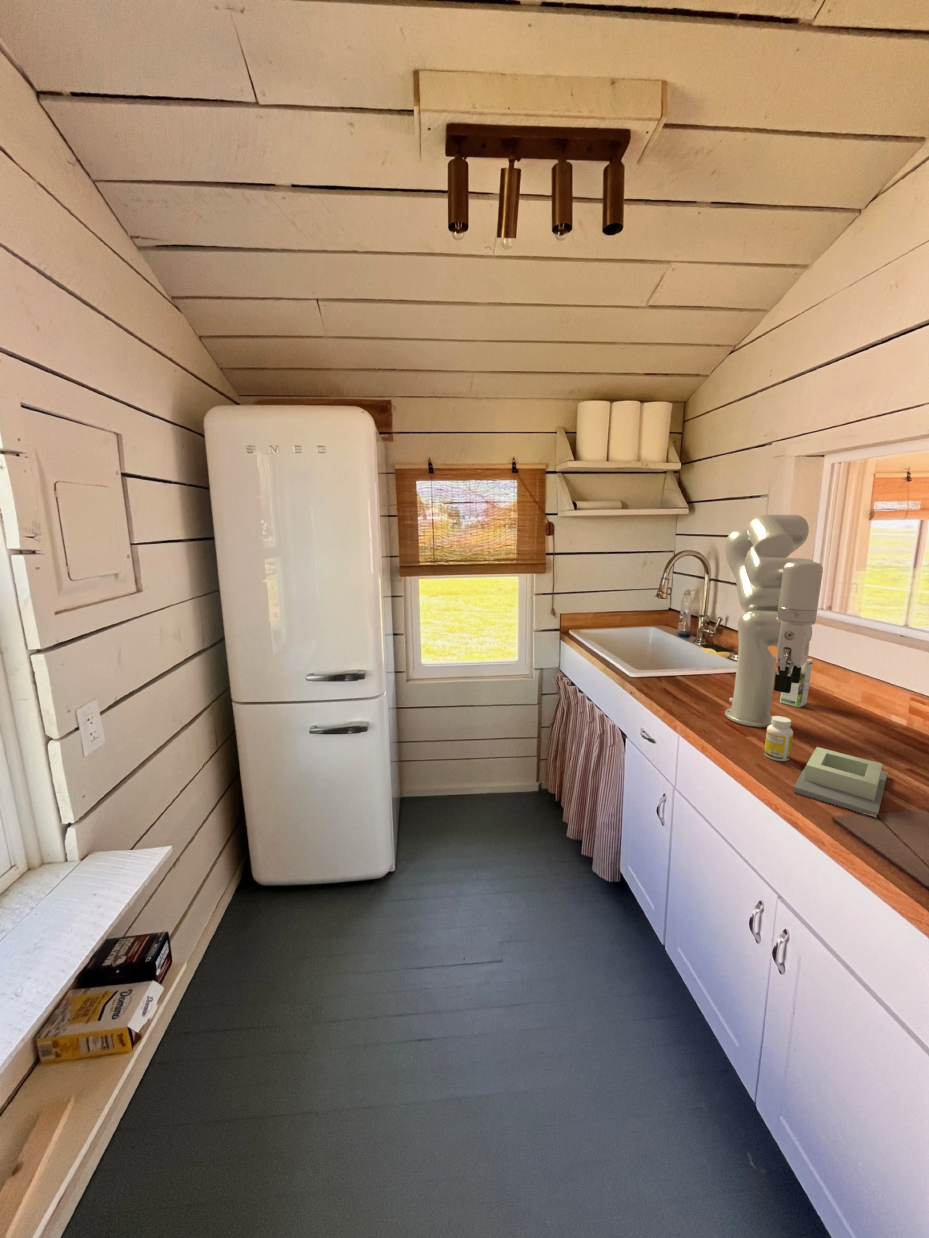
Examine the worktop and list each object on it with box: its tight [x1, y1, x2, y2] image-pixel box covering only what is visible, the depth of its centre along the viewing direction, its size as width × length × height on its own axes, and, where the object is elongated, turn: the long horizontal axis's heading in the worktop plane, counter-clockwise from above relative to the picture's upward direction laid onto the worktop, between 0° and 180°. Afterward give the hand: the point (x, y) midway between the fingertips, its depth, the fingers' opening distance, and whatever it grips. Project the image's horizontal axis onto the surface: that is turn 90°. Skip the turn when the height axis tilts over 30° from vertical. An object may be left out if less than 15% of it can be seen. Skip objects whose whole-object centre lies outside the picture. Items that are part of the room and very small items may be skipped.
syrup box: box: [779, 658, 814, 709], centre depth 157 cm, size 6×6×14 cm
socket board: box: [792, 746, 889, 816], centre depth 110 cm, size 22×14×5 cm, turn 137°
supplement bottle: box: [764, 715, 794, 762], centre depth 122 cm, size 5×5×10 cm
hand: (786, 686), depth 119 cm, fingers open, 9 cm apart
